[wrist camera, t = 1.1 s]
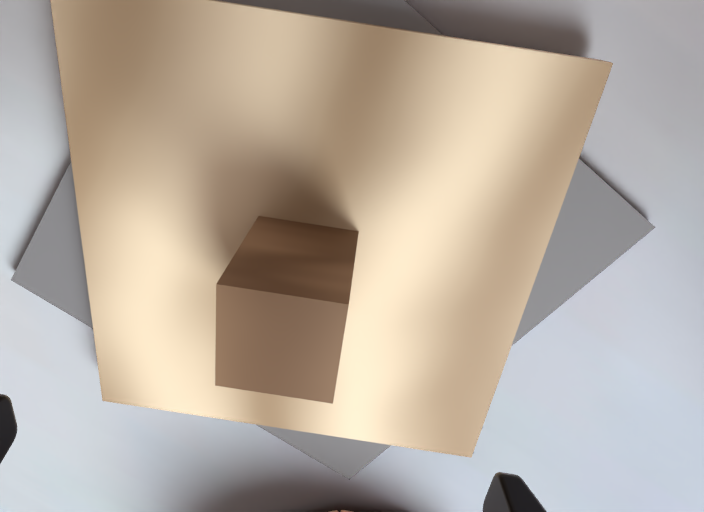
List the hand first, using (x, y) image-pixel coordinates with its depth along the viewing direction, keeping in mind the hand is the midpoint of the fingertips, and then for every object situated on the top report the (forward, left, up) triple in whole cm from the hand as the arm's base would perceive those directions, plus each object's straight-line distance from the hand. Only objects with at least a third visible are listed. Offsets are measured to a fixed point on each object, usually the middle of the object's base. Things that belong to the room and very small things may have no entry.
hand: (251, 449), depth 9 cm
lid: (0, 0, -8) cm, 8 cm away
